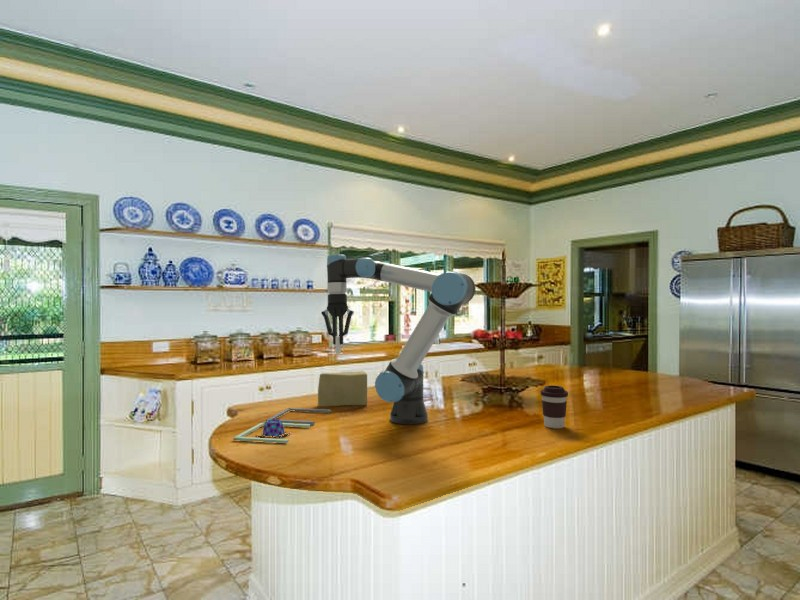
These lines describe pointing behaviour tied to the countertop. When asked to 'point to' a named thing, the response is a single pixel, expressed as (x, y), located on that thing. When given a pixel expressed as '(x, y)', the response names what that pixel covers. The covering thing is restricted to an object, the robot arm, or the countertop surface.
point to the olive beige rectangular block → (342, 389)
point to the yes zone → (242, 438)
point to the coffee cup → (554, 406)
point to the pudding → (273, 428)
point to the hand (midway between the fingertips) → (338, 352)
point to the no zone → (299, 410)
